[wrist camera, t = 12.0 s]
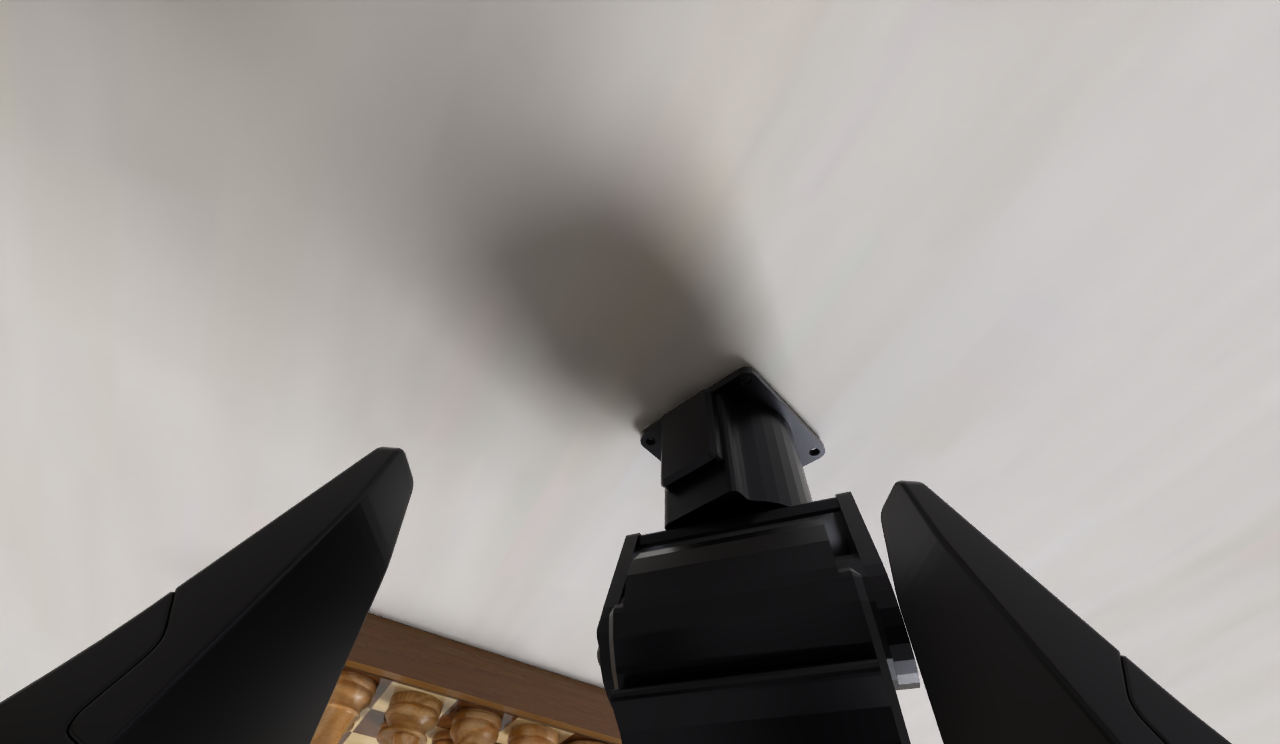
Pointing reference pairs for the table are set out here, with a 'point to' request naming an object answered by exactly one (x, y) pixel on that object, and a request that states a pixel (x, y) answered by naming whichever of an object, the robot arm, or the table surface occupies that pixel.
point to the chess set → (455, 696)
